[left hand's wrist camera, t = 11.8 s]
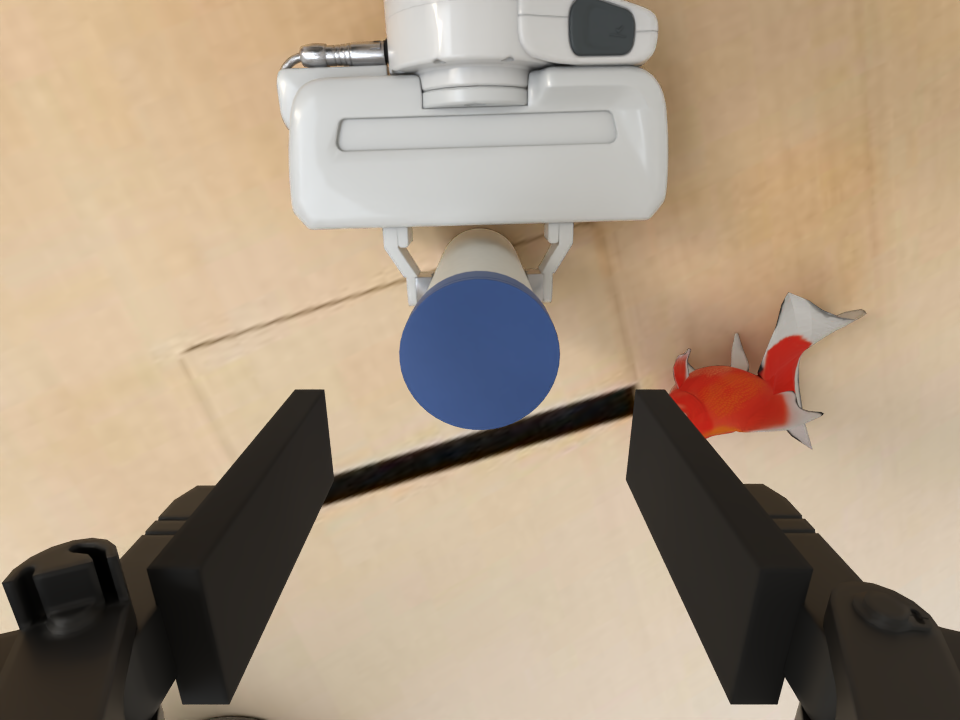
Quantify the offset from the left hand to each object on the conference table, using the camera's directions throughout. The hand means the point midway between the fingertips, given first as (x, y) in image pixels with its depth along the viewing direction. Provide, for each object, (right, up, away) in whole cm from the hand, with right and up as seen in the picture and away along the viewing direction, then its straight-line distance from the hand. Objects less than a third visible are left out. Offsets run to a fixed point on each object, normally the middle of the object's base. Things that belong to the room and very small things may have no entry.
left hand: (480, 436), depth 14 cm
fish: (+19, +3, +25) cm, 32 cm away
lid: (0, +2, +6) cm, 6 cm away
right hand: (0, +5, +18) cm, 19 cm away
